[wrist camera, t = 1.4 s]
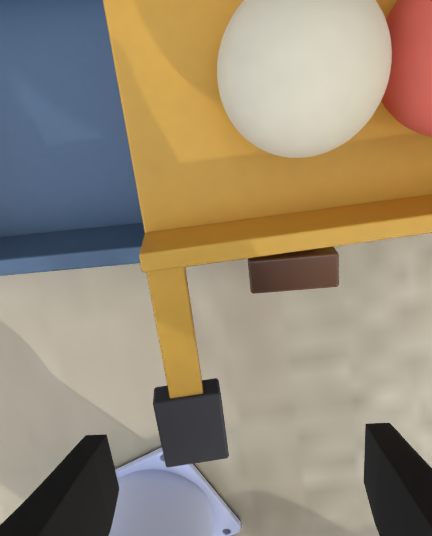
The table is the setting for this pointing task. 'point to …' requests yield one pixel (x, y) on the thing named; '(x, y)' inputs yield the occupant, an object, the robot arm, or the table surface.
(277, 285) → the dish stand
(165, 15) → the yellow tray
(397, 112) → the ball coral
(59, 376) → the table surface
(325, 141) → the ball cream
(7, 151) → the bin
